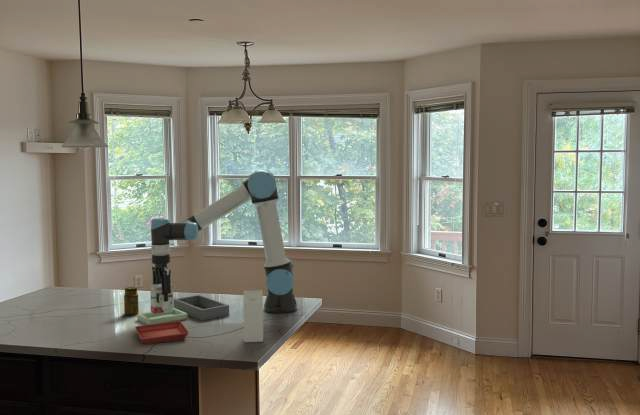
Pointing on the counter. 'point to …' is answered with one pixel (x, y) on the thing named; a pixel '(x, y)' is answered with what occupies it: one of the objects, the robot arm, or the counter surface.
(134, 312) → the condiment
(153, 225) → the robot arm
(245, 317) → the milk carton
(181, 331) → the plant saucer
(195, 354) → the counter surface
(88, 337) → the counter surface
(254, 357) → the counter surface
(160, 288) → the ink box
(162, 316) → the tray
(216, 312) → the tray
